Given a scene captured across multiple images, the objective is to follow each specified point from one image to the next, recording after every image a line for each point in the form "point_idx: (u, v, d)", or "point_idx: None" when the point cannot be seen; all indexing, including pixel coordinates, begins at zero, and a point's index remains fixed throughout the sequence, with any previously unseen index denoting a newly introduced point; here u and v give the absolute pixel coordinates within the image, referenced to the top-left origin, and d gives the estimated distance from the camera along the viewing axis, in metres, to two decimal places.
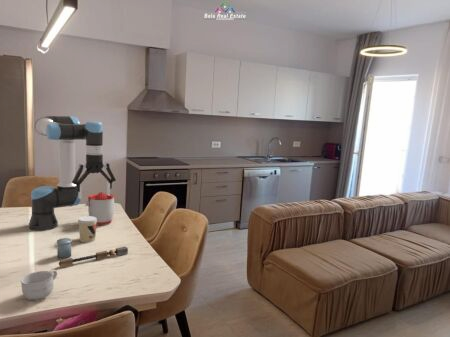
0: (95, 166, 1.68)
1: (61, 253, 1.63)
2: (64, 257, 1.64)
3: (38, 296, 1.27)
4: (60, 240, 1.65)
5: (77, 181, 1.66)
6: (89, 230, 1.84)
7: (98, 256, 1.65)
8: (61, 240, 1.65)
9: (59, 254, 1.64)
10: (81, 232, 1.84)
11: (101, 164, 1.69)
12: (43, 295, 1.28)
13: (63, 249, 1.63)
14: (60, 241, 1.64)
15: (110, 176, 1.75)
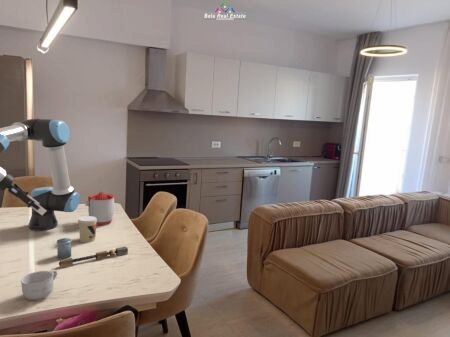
0: (10, 189, 1.47)
1: (61, 253, 1.63)
2: (64, 257, 1.64)
3: (38, 296, 1.27)
4: (60, 240, 1.65)
5: (24, 192, 1.58)
6: (89, 230, 1.84)
7: (98, 256, 1.65)
8: (61, 240, 1.65)
9: (59, 254, 1.64)
10: (81, 232, 1.84)
11: (9, 189, 1.45)
12: (43, 295, 1.28)
13: (63, 249, 1.63)
14: (60, 241, 1.64)
15: None
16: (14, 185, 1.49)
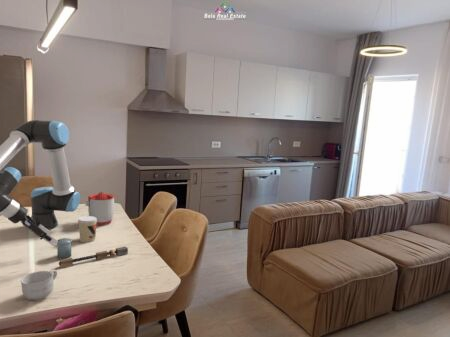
0: (23, 221, 1.52)
1: (61, 253, 1.63)
2: (64, 257, 1.64)
3: (38, 296, 1.27)
4: (60, 240, 1.65)
5: (36, 222, 1.63)
6: (89, 230, 1.84)
7: (98, 256, 1.65)
8: (61, 240, 1.65)
9: (59, 254, 1.64)
10: (81, 232, 1.84)
11: (23, 222, 1.50)
12: (43, 295, 1.28)
13: (63, 249, 1.63)
14: (60, 241, 1.64)
15: None
16: (27, 217, 1.54)
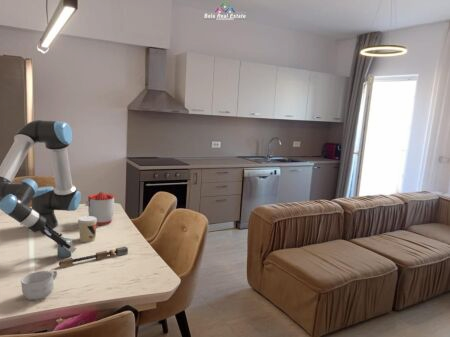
0: None
1: (61, 253, 1.63)
2: (64, 257, 1.64)
3: (38, 296, 1.27)
4: None
5: (58, 234, 1.68)
6: (89, 230, 1.84)
7: (98, 256, 1.65)
8: None
9: (59, 254, 1.64)
10: (81, 232, 1.84)
11: None
12: (43, 295, 1.28)
13: (63, 249, 1.63)
14: None
15: None
16: (45, 225, 1.60)
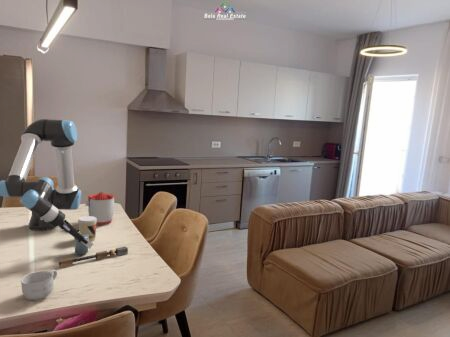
0: (61, 225, 1.62)
1: (78, 248, 1.67)
2: (81, 252, 1.68)
3: (38, 296, 1.27)
4: None
5: (75, 230, 1.72)
6: (89, 230, 1.84)
7: (98, 256, 1.65)
8: None
9: (76, 249, 1.67)
10: (81, 232, 1.84)
11: (61, 226, 1.59)
12: (43, 295, 1.28)
13: (80, 244, 1.67)
14: None
15: None
16: (64, 221, 1.64)
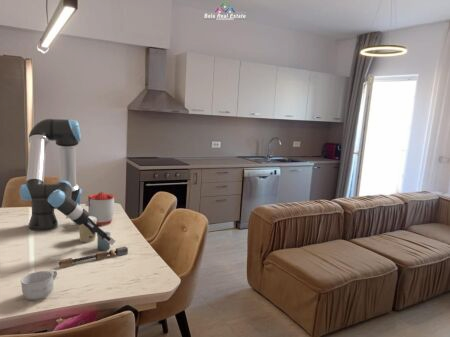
0: (85, 223, 1.70)
1: (101, 245, 1.75)
2: (104, 249, 1.76)
3: (38, 296, 1.27)
4: None
5: None
6: (89, 230, 1.84)
7: (98, 256, 1.65)
8: None
9: (99, 246, 1.76)
10: (81, 232, 1.84)
11: (85, 224, 1.68)
12: (43, 295, 1.28)
13: (103, 241, 1.75)
14: None
15: None
16: (88, 219, 1.72)
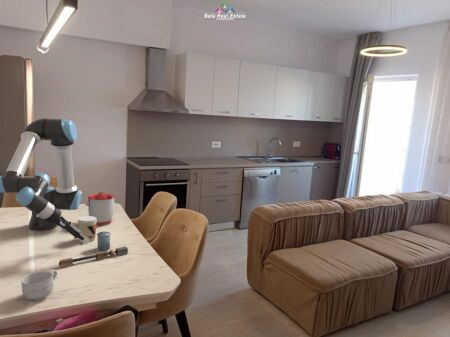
0: None
1: (101, 245, 1.75)
2: (104, 249, 1.76)
3: (38, 296, 1.27)
4: (100, 233, 1.77)
5: (67, 222, 1.73)
6: (89, 230, 1.84)
7: (98, 256, 1.65)
8: (101, 233, 1.77)
9: (99, 246, 1.76)
10: (81, 232, 1.84)
11: (57, 223, 1.59)
12: (43, 295, 1.28)
13: (103, 241, 1.75)
14: (100, 234, 1.76)
15: None
16: (61, 218, 1.63)
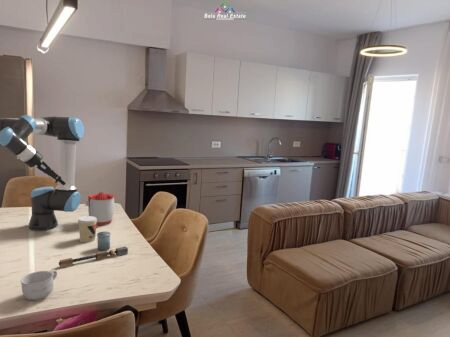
0: (38, 166, 1.61)
1: (101, 245, 1.75)
2: (104, 249, 1.76)
3: (38, 296, 1.27)
4: (100, 233, 1.77)
5: None
6: (89, 230, 1.84)
7: (98, 256, 1.65)
8: (101, 233, 1.77)
9: (99, 246, 1.76)
10: (81, 232, 1.84)
11: (38, 166, 1.59)
12: (43, 295, 1.28)
13: (103, 241, 1.75)
14: (100, 234, 1.76)
15: None
16: (42, 163, 1.63)
